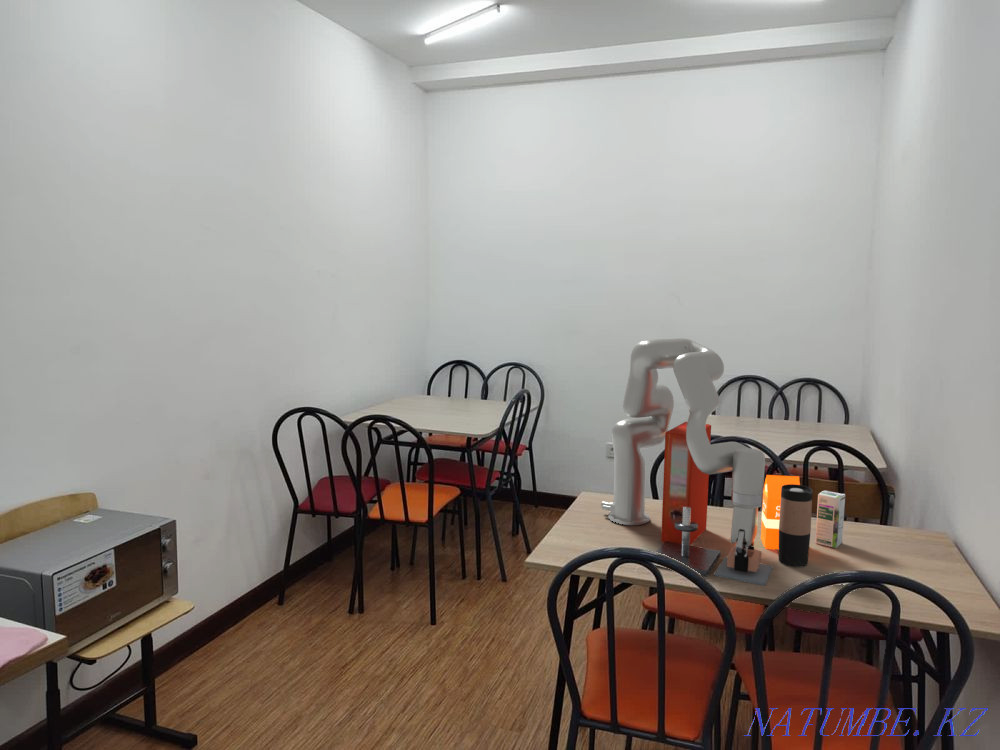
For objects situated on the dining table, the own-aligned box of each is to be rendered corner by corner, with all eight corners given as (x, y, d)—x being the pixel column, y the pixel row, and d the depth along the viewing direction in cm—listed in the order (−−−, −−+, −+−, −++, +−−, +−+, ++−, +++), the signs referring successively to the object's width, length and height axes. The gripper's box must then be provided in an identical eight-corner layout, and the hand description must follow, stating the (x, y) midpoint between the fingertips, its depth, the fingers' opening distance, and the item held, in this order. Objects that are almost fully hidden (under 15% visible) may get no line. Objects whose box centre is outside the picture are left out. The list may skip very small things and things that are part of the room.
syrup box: (814, 543, 198) (817, 493, 197) (821, 538, 203) (824, 489, 201) (835, 548, 195) (839, 498, 193) (842, 543, 199) (846, 493, 197)
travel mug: (773, 556, 190) (776, 484, 187) (801, 556, 189) (805, 484, 187) (783, 567, 182) (787, 492, 179) (813, 567, 182) (817, 492, 179)
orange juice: (798, 551, 193) (802, 480, 190) (764, 548, 195) (768, 478, 192) (792, 541, 201) (796, 472, 198) (760, 538, 202) (763, 471, 200)
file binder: (707, 529, 210) (711, 424, 205) (689, 548, 195) (693, 435, 191) (680, 524, 214) (684, 421, 210) (661, 542, 200) (664, 432, 195)
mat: (714, 575, 177) (714, 573, 177) (724, 559, 188) (724, 557, 187) (764, 585, 171) (764, 583, 171) (772, 568, 182) (772, 565, 182)
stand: (648, 564, 184) (650, 511, 182) (665, 546, 197) (666, 495, 195) (706, 576, 177) (709, 520, 175) (720, 556, 190) (722, 504, 188)
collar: (726, 566, 178) (727, 555, 178) (732, 557, 184) (733, 546, 184) (756, 572, 174) (756, 560, 174) (760, 562, 181) (761, 551, 180)
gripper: (738, 487, 186) (735, 551, 189) (724, 505, 171) (721, 575, 174) (768, 491, 183) (765, 557, 185) (756, 510, 168) (753, 581, 170)
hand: (743, 565), depth 179 cm, fingers closed on collar, 6 cm apart
